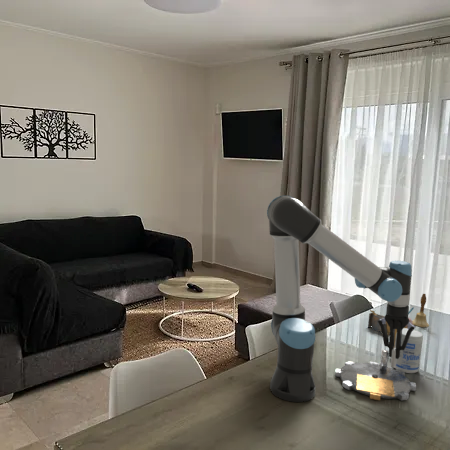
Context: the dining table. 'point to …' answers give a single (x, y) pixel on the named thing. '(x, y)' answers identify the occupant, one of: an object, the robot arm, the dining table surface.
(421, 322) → the hand bell
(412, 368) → the supplement tub
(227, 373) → the dining table surface
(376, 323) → the ruin model on sheet
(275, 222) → the robot arm
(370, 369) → the sprocket
